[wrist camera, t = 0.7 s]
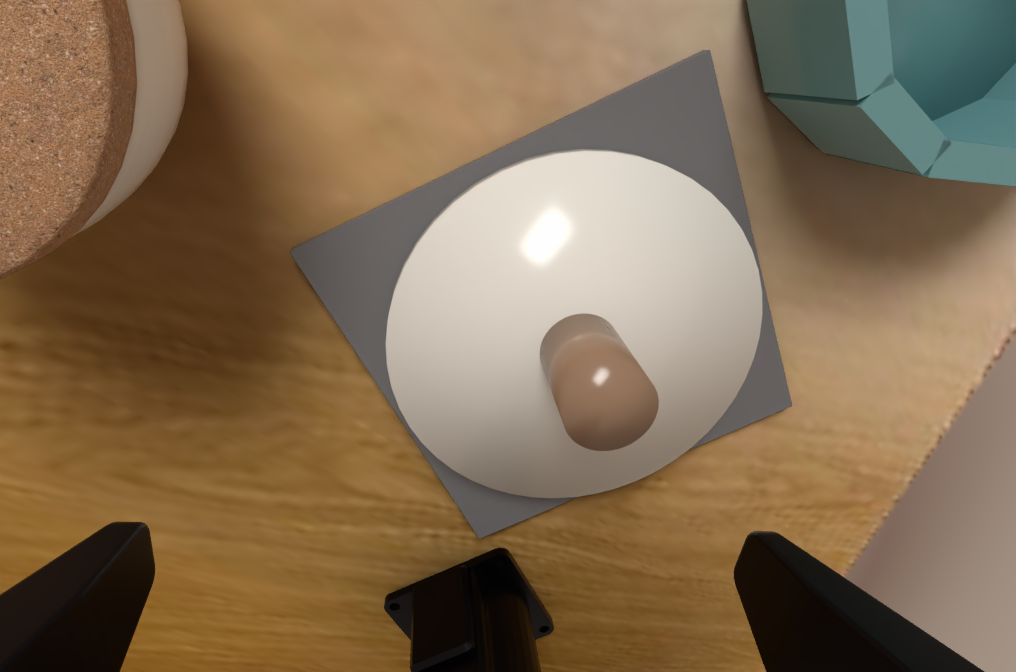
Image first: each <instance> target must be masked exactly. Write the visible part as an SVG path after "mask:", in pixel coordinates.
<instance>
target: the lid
mask: <svg viewBox="0 0 1016 672" xmlns="http://www.w3.org/2000/svg"><path fill="white" fill-rule="evenodd" d="M761 322H762V288H761V282H760V276H759V270H758V267H757V264H756V261H755V257H754V254H753V251H752V249H751V247H750V245H749V242H748V240H747V238H746V236H745V234H744V232H743V230H742V229H741V227H740V226H739V224H738V223H737V222H736V220H735V219H734V217H733V216H732V215H731V213H730V212H729V211H728V209H727V208H726V207H725V206H724V205H723V204H722V203H721V202H720V201H719V200H718V199H717V198H716V197H715V196H714V195H713V194H712V193H711V192H709V191H708V190H706V189H705V188H704V187H702V186H701V185H700V184H698V183H697V182H695V181H694V180H693V179H691V178H689V177H688V176H686V175H684V174H682V173H680V172H678V171H676V170H674V169H672V168H670V167H668V166H666V165H663V164H661V163H659V162H656V161H653V160H650V159H647V158H644V157H641V156H638V155H635V154H631V153H625V152H619V151H614V150H608V149H572V150H562V151H553V152H549V153H545V154H541V155H537V156H533V157H529V158H525V159H523V160H520V161H518V162H515V163H513V164H510V165H508V166H505V167H503V168H500V169H498V170H497V171H495V172H493V173H491V174H489V175H488V176H486V177H484V178H482V179H481V180H479V181H477V182H475V183H474V184H473V185H471V186H470V187H469V188H467V189H466V190H465V191H463V192H462V193H461V194H459V195H458V196H457V197H455V198H454V199H453V200H452V201H451V202H450V203H449V204H448V205H447V206H446V207H445V208H444V209H443V210H441V211H440V212H439V213H438V214H437V215H436V216H435V217H434V218H433V220H432V221H431V222H430V224H429V225H428V226H427V227H426V229H425V230H424V231H423V233H422V234H421V235H420V236H419V238H418V239H417V241H416V242H415V244H414V246H413V248H412V249H411V251H410V253H409V255H408V256H407V258H406V260H405V262H404V264H403V267H402V269H401V272H400V274H399V277H398V279H397V282H396V284H395V288H394V292H393V296H392V300H391V304H390V309H389V315H388V322H387V333H386V359H387V369H388V373H389V378H390V383H391V388H392V390H393V393H394V396H395V398H396V401H397V404H398V406H399V409H400V411H401V412H402V414H403V416H404V418H405V420H406V421H407V423H408V425H409V427H410V428H411V429H412V431H413V432H414V433H415V435H416V436H417V437H418V439H419V440H420V441H421V442H422V444H423V445H424V446H425V447H426V448H427V449H428V450H429V451H430V452H431V453H432V454H434V455H435V456H436V457H437V458H438V459H439V460H440V461H442V462H443V463H444V464H446V465H447V466H448V467H450V468H451V469H452V470H454V471H456V472H457V473H459V474H461V475H463V476H464V477H466V478H468V479H470V480H472V481H474V482H476V483H479V484H481V485H484V486H486V487H489V488H491V489H495V490H498V491H502V492H505V493H509V494H514V495H520V496H526V497H535V498H569V497H579V496H585V495H592V494H597V493H601V492H604V491H608V490H612V489H616V488H619V487H621V486H624V485H627V484H630V483H632V482H635V481H637V480H639V479H642V478H644V477H646V476H648V475H650V474H652V473H654V472H656V471H658V470H659V469H661V468H663V467H664V466H666V465H667V464H669V463H671V462H672V461H674V460H675V459H677V458H678V457H679V456H681V455H682V454H683V453H685V452H686V451H687V450H689V449H690V448H691V447H693V446H694V445H695V444H696V443H697V442H698V441H699V440H700V439H701V438H702V437H703V436H704V435H706V434H707V433H708V432H709V431H710V429H711V428H712V427H713V426H714V425H715V424H716V423H717V421H718V420H719V419H720V418H721V417H722V416H723V414H724V413H725V411H726V410H727V409H728V407H729V406H730V404H731V403H732V402H733V400H734V399H735V397H736V395H737V394H738V392H739V390H740V388H741V386H742V384H743V383H744V381H745V379H746V377H747V374H748V372H749V369H750V367H751V364H752V362H753V359H754V356H755V352H756V349H757V345H758V341H759V337H760V330H761Z"/></svg>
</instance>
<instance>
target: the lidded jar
mask: <svg viewBox="0 0 1016 672" xmlns="http://www.w3.org/2000/svg"><path fill="white" fill-rule="evenodd" d="M187 78H188V59H187V38H186V33H185V27H184V22H183V16H182V11H181V5H180V2H179V0H0V279H2V278H4V277H6V276H8V275H10V274H12V273H14V272H16V271H18V270H20V269H22V268H23V267H25V266H27V265H29V264H31V263H33V262H35V261H37V260H39V259H41V258H43V257H44V256H46V255H48V254H50V253H51V252H52V251H54V250H55V249H56V248H57V247H59V246H60V245H61V244H62V243H64V242H65V241H66V240H67V239H69V238H70V237H72V236H74V235H76V234H77V233H79V232H81V231H83V230H84V229H86V228H88V227H90V226H91V225H93V224H95V223H96V222H98V221H99V220H100V219H102V218H103V217H104V216H105V215H107V214H108V213H109V212H110V211H112V210H113V209H114V208H116V207H117V206H118V205H119V204H121V203H122V202H123V201H124V200H125V199H126V198H128V197H129V196H130V195H131V194H132V193H133V192H135V191H136V190H137V188H138V187H139V186H140V185H141V184H142V183H143V181H144V180H145V179H146V178H147V177H148V175H149V174H150V173H151V172H152V171H153V169H154V168H155V167H156V165H157V164H158V162H159V161H160V159H161V158H162V156H163V154H164V152H165V151H166V149H167V147H168V145H169V143H170V141H171V140H172V138H173V136H174V134H175V132H176V129H177V125H178V122H179V119H180V116H181V113H182V110H183V107H184V101H185V93H186V86H187Z"/></svg>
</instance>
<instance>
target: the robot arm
mask: <svg viewBox="0 0 1016 672" xmlns="http://www.w3.org/2000/svg"><path fill="white" fill-rule="evenodd" d="M497 559H500V560H497ZM154 576H155V562H154V556H153V549H152V543H151V537H150V531H149V528H148V526H147V525H146V524H145V523H142V522H113V523H111V524H108V525H107V526H105V527H103V528H102V529H100V530H99V531H97V532H96V533H94V534H93V535H91V536H90V537H88V538H86V539H85V540H83V541H82V542H80V543H79V544H77V545H76V546H74V547H73V548H71V549H70V550H68V551H67V552H65V553H63V554H62V555H60V556H59V557H57V558H56V559H54V560H53V561H51V562H50V563H48V564H47V565H45V566H44V567H42V568H41V569H39V570H37V571H36V572H34V573H33V574H31V575H30V576H28V577H27V578H25V579H24V580H22V581H21V582H19V583H18V584H16V585H15V586H13V587H11V588H10V589H8V590H7V591H5V592H4V593H2V594H1V595H0V672H120V670H121V667H122V664H123V662H124V659H125V656H126V654H127V651H128V648H129V646H130V643H131V640H132V638H133V635H134V632H135V630H136V627H137V624H138V622H139V619H140V616H141V614H142V611H143V608H144V606H145V603H146V601H147V598H148V595H149V593H150V590H151V587H152V584H153V581H154ZM734 580H735V585H736V588H737V590H738V593H739V596H740V599H741V602H742V605H743V607H744V610H745V613H746V616H747V619H748V621H749V624H750V627H751V630H752V633H753V636H754V638H755V641H756V644H757V647H758V650H759V653H760V655H761V658H762V661H763V664H764V666H765V669H766V672H984V671H983V670H981V669H980V668H978V667H976V666H975V665H974V664H972V663H970V662H969V661H968V660H966V659H965V658H963V657H962V656H960V655H959V654H957V653H956V652H954V651H953V650H951V649H950V648H948V647H947V646H945V645H944V644H942V643H941V642H939V641H938V640H937V639H935V638H934V637H932V636H931V635H929V634H927V633H926V632H924V631H923V630H922V629H920V628H919V627H917V626H915V625H914V624H913V623H911V622H910V621H908V620H907V619H905V618H904V617H902V616H901V615H899V614H898V613H896V612H895V611H893V610H892V609H890V608H889V607H887V606H886V605H884V604H883V603H881V602H880V601H878V600H877V599H875V598H874V597H872V596H871V595H869V594H868V593H866V592H865V591H863V590H862V589H860V588H859V587H857V586H856V585H855V584H853V583H852V582H850V581H848V580H847V579H846V578H844V577H843V576H841V575H840V574H838V573H837V572H835V571H834V570H832V569H831V568H829V567H828V566H826V565H825V564H823V563H822V562H820V561H819V560H817V559H816V558H814V557H813V556H811V555H810V554H808V553H807V552H805V551H804V550H802V549H801V548H799V547H798V546H796V545H795V544H793V543H792V542H790V541H789V540H787V539H786V538H784V537H783V536H782V535H780V534H778V533H776V532H766V531H754V532H751V533H750V534H749V535H748V536H747V538H746V540H745V543H744V545H743V548H742V550H741V552H740V555H739V557H738V560H737V562H736V565H735V568H734ZM384 609H385V611H386V612H387V613H388V614H389V615H390V617H391V618H392V619H393V620H394V621H395V622H396V624H397V625H398V626H399V627H400V628H401V629H402V631H403V632H404V633H405V634H406V635H407V636H408V638H409V639H410V640H411V654H410V669H411V672H541V670H540V664H539V659H538V653H537V648H536V642H535V640H536V639H539V638H541V637H543V636H546V635H548V634H550V633H551V632H552V631H553V629H554V627H553V622H552V619H551V617H550V615H549V614H548V612H547V611H546V609H545V608H544V606H543V604H542V603H541V601H540V600H539V598H538V596H537V595H536V593H535V592H534V590H533V589H532V587H531V585H530V584H529V582H528V581H527V579H526V578H525V576H524V574H523V573H522V571H521V570H520V568H519V567H518V565H517V563H516V562H515V560H514V559H513V557H512V556H511V554H510V552H509V551H508V550H507V549H504V548H497V549H494V550H492V551H489V552H487V553H485V554H482V555H480V556H478V557H475V558H473V559H470V560H468V561H466V562H463V563H461V564H459V565H456V566H454V567H452V568H449V569H447V570H444V571H442V572H440V573H437V574H435V575H433V576H430V577H428V578H426V579H423V580H421V581H418V582H416V583H414V584H411V585H409V586H407V587H404V588H402V589H400V590H397V591H395V592H392V593H390V594H389V595H387V596H386V598H385V605H384Z"/></svg>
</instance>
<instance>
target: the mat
mask: <svg viewBox="0 0 1016 672" xmlns="http://www.w3.org/2000/svg"><path fill="white" fill-rule="evenodd" d="M572 149H608V150H614V151H619V152H625V153H631V154H635V155H638V156H641V157H644V158H647V159H650V160H653V161H656V162H659V163H661V164H663V165H666V166H668V167H670V168H672V169H674V170H676V171H678V172H680V173H682V174H684V175H686V176H688V177H689V178H691V179H693V180H694V181H695V182H697V183H698V184H700V185H701V186H702V187H704V188H705V189H706V190H708V191H709V192H711V193H712V194H713V195H714V196H715V197H716V198H717V199H718V200H719V201H720V202H721V203H722V204H723V205H724V206H725V207H726V208H727V209H728V211H729V212H730V213H731V215H732V216H733V217H734V219H735V220H736V222H737V223H738V224H739V226H740V227H741V229H742V230H743V232H744V234H745V236H746V238H747V240H748V242H749V245H750V247H751V249H752V251H753V254H754V257H755V261H756V264H757V267H758V270H759V276H760V282H761V288H762V322H761V330H760V337H759V341H758V345H757V349H756V352H755V356H754V359H753V362H752V364H751V367H750V369H749V372H748V374H747V377H746V379H745V381H744V383H743V384H742V386H741V388H740V390H739V392H738V394H737V395H736V397H735V399H734V400H733V402H732V403H731V404H730V406H729V407H728V409H727V410H726V411H725V413H724V414H723V416H722V417H721V418H720V419H719V420H718V421H717V423H716V424H715V425H714V426H713V427H712V428H711V429H710V431H709V432H708V433H707V434H706V435H704V436H703V437H702V438H701V439H700V440H699V441H698V442H697V443H696V444H695V445H694V446H693V447H691V448H690V449H692V448H695V447H697V446H699V445H702V444H704V443H706V442H709V441H711V440H713V439H716V438H718V437H720V436H723V435H725V434H727V433H730V432H732V431H735V430H737V429H739V428H742V427H744V426H746V425H749V424H751V423H753V422H756V421H758V420H760V419H763V418H765V417H767V416H770V415H772V414H774V413H777V412H779V411H782V410H784V409H786V408H789V407H791V406H792V403H791V399H790V394H789V390H788V386H787V381H786V377H785V373H784V368H783V364H782V360H781V355H780V351H779V347H778V342H777V338H776V334H775V329H774V325H773V321H772V316H771V312H770V308H769V303H768V299H767V295H766V290H765V286H764V282H763V277H762V273H761V269H760V265H759V260H758V256H757V252H756V247H755V243H754V239H753V234H752V230H751V226H750V221H749V217H748V213H747V208H746V204H745V200H744V195H743V191H742V187H741V182H740V178H739V174H738V169H737V165H736V161H735V156H734V152H733V148H732V143H731V139H730V135H729V131H728V126H727V122H726V118H725V113H724V109H723V105H722V100H721V96H720V92H719V87H718V83H717V79H716V74H715V70H714V66H713V61H712V57H711V53H710V50H703V51H701V52H699V53H697V54H694V55H692V56H690V57H688V58H686V59H684V60H682V61H680V62H678V63H676V64H674V65H672V66H670V67H668V68H665V69H663V70H661V71H659V72H657V73H655V74H653V75H651V76H649V77H647V78H645V79H643V80H641V81H638V82H636V83H634V84H632V85H630V86H628V87H626V88H624V89H622V90H620V91H618V92H616V93H614V94H611V95H609V96H607V97H605V98H603V99H601V100H599V101H597V102H595V103H593V104H591V105H589V106H587V107H584V108H582V109H580V110H578V111H576V112H574V113H572V114H570V115H568V116H566V117H564V118H562V119H560V120H557V121H555V122H553V123H551V124H549V125H547V126H545V127H543V128H541V129H539V130H537V131H535V132H533V133H531V134H528V135H526V136H524V137H522V138H520V139H518V140H516V141H514V142H512V143H510V144H508V145H506V146H504V147H501V148H499V149H497V150H495V151H493V152H491V153H489V154H487V155H485V156H483V157H481V158H479V159H477V160H474V161H472V162H470V163H468V164H466V165H464V166H462V167H460V168H458V169H456V170H454V171H452V172H450V173H447V174H445V175H443V176H441V177H439V178H437V179H435V180H433V181H431V182H429V183H427V184H425V185H423V186H420V187H418V188H416V189H414V190H412V191H410V192H408V193H406V194H404V195H402V196H400V197H398V198H396V199H393V200H391V201H389V202H387V203H385V204H383V205H381V206H379V207H377V208H375V209H373V210H371V211H369V212H367V213H364V214H362V215H360V216H358V217H356V218H354V219H352V220H350V221H348V222H346V223H344V224H342V225H340V226H337V227H335V228H333V229H331V230H329V231H327V232H325V233H323V234H321V235H319V236H317V237H315V238H313V239H310V240H308V241H306V242H304V243H302V244H300V245H298V246H296V247H294V248H292V250H291V251H290V254H291V255H292V257H293V258H294V260H295V261H296V263H297V264H298V266H299V267H300V269H301V270H302V272H303V273H304V275H305V276H306V278H307V279H308V281H309V282H310V284H311V285H312V287H313V289H314V290H315V292H316V293H317V295H318V296H319V298H320V299H321V301H322V302H323V304H324V305H325V307H326V308H327V310H328V311H329V313H330V314H331V316H332V317H333V319H334V320H335V322H336V323H337V325H338V326H339V328H340V329H341V331H342V332H343V334H344V335H345V337H346V338H347V340H348V341H349V343H350V344H351V346H352V347H353V349H354V350H355V352H356V353H357V355H358V356H359V358H360V359H361V361H362V362H363V364H364V365H365V367H366V369H367V370H368V372H369V373H370V375H371V376H372V378H373V379H374V381H375V382H376V384H377V385H378V387H379V388H380V390H381V391H382V393H383V394H384V396H385V397H386V399H387V400H388V402H389V403H390V405H391V406H392V408H393V409H394V411H395V412H396V414H397V415H398V417H399V418H400V420H401V421H402V423H403V424H404V426H405V427H406V429H407V430H408V432H409V433H410V435H411V436H412V438H413V439H414V441H415V442H416V444H417V445H418V447H419V448H420V450H421V452H422V453H423V455H424V456H425V458H426V459H427V461H428V462H429V464H430V465H431V467H432V468H433V470H434V471H435V473H436V474H437V476H438V477H439V479H440V480H441V482H442V483H443V485H444V486H445V488H446V489H447V491H448V492H449V494H450V495H451V497H452V498H453V500H454V501H455V503H456V504H457V506H458V507H459V509H460V510H461V512H462V513H463V515H464V516H465V518H466V519H467V521H468V522H469V524H470V525H471V527H472V528H473V530H474V531H475V533H476V535H477V536H478V538H479V539H481V538H483V537H485V536H488V535H490V534H492V533H495V532H497V531H499V530H502V529H504V528H507V527H509V526H511V525H514V524H516V523H518V522H521V521H523V520H525V519H528V518H530V517H532V516H535V515H537V514H539V513H542V512H544V511H546V510H549V509H551V508H554V507H556V506H558V505H561V504H563V503H565V502H568V501H570V500H572V499H575V498H577V497H569V498H535V497H526V496H520V495H514V494H509V493H505V492H502V491H498V490H495V489H491V488H489V487H486V486H484V485H481V484H479V483H476V482H474V481H472V480H470V479H468V478H466V477H464V476H463V475H461V474H459V473H457V472H456V471H454V470H452V469H451V468H450V467H448V466H447V465H446V464H444V463H443V462H442V461H440V460H439V459H438V458H437V457H436V456H435V455H434V454H432V453H431V452H430V451H429V450H428V449H427V448H426V447H425V446H424V445H423V444H422V442H421V441H420V440H419V439H418V437H417V436H416V435H415V433H414V432H413V431H412V429H411V428H410V427H409V425H408V423H407V421H406V420H405V418H404V416H403V414H402V412H401V411H400V409H399V406H398V404H397V401H396V398H395V396H394V393H393V390H392V388H391V383H390V378H389V373H388V369H387V359H386V333H387V322H388V315H389V309H390V304H391V300H392V296H393V292H394V288H395V284H396V282H397V279H398V277H399V274H400V272H401V269H402V267H403V264H404V262H405V260H406V258H407V256H408V255H409V253H410V251H411V249H412V248H413V246H414V244H415V242H416V241H417V239H418V238H419V236H420V235H421V234H422V233H423V231H424V230H425V229H426V227H427V226H428V225H429V224H430V222H431V221H432V220H433V218H434V217H435V216H436V215H437V214H438V213H439V212H440V211H441V210H443V209H444V208H445V207H446V206H447V205H448V204H449V203H450V202H451V201H452V200H453V199H454V198H455V197H457V196H458V195H459V194H461V193H462V192H463V191H465V190H466V189H467V188H469V187H470V186H471V185H473V184H474V183H475V182H477V181H479V180H481V179H482V178H484V177H486V176H488V175H489V174H491V173H493V172H495V171H497V170H498V169H500V168H503V167H505V166H508V165H510V164H513V163H515V162H518V161H520V160H523V159H525V158H529V157H533V156H537V155H541V154H545V153H549V152H553V151H562V150H572ZM690 449H689V450H690Z"/></svg>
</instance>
